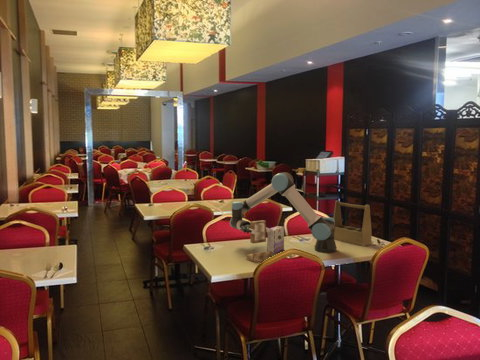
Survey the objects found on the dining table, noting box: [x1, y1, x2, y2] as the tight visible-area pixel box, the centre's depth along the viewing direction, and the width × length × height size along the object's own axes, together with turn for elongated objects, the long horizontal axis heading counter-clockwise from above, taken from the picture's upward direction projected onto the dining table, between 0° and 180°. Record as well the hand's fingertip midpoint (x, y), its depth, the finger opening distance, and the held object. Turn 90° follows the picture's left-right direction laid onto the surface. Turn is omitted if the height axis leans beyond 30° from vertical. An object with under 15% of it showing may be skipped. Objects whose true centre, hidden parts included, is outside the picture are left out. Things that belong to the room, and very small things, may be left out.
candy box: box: [266, 225, 285, 255], centre depth 308 cm, size 14×6×16 cm, turn 145°
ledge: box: [246, 251, 273, 263], centre depth 288 cm, size 14×8×5 cm, turn 120°
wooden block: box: [249, 219, 267, 245], centre depth 297 cm, size 10×4×14 cm, turn 120°
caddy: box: [332, 200, 373, 247], centre depth 337 cm, size 29×11×30 cm, turn 37°
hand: (261, 231), depth 294 cm, fingers closed on wooden block, 10 cm apart
